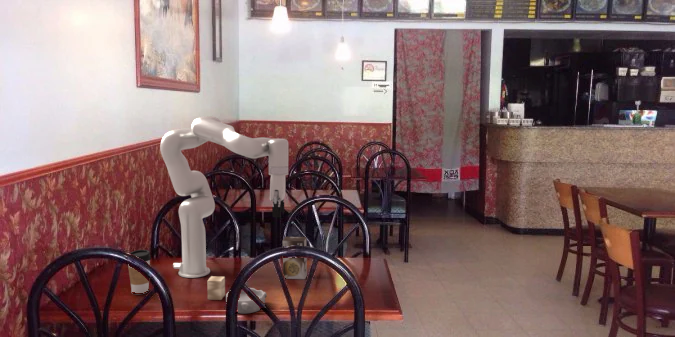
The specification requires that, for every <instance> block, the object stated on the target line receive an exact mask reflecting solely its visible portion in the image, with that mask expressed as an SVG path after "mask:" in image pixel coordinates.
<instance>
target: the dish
mask: <svg viewBox="0 0 675 337" xmlns="http://www.w3.org/2000/svg"><path fill="white" fill-rule="evenodd" d="M249 288H250V289H251V290H252V291H253V292H254V293H255V294H256V295H257V296H258V297H259V299H260V300H261V301H263V302H264V303H266V298H267V292H266V291H263V290H262V289H259V290H257V289H256V288H254V287H249ZM228 293H229V291H228V292H227V293H225V302H227V297H228ZM259 311H260V308H259V306H258V305H257V304H256V303H255V302H254V301H253V300H251V299H250V298H249V297H248V296H247V294H246V293H245V292H244V291H242V292H241V294H240V298H239V300H238V313H237V314H251V313H252V314H253V313H256V312H259Z"/></svg>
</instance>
